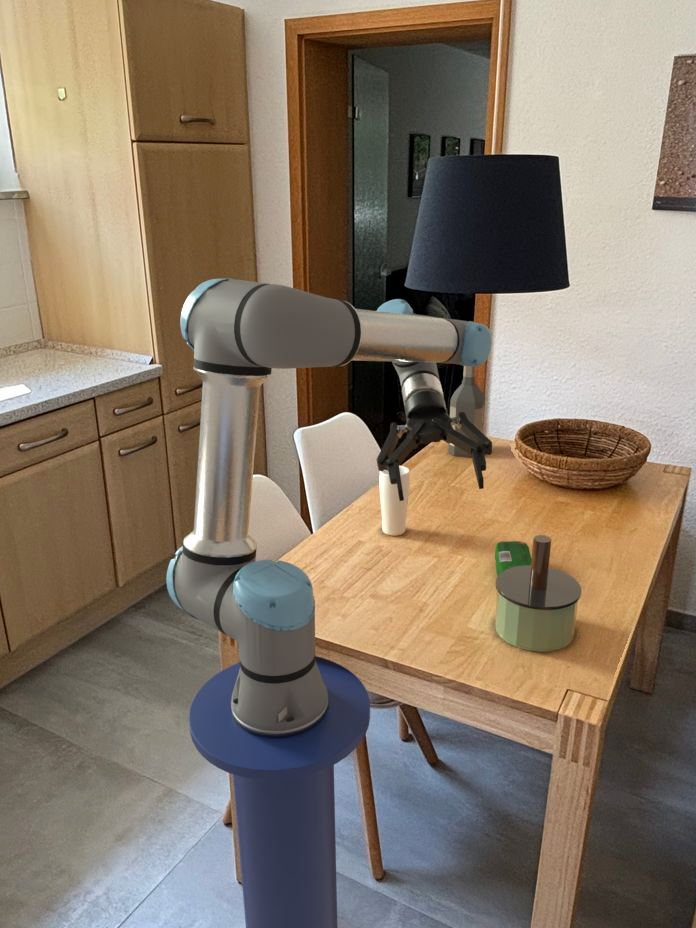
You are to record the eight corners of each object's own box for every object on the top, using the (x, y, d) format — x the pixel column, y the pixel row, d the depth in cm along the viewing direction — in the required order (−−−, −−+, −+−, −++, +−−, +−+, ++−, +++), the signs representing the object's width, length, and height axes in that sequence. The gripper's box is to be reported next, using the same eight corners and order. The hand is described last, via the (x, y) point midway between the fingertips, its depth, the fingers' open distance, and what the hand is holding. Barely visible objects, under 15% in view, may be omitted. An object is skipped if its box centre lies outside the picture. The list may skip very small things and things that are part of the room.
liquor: (482, 448, 228) (488, 347, 217) (479, 458, 220) (484, 354, 209) (452, 445, 230) (456, 345, 219) (447, 455, 222) (451, 352, 211)
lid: (484, 601, 132) (487, 547, 128) (508, 564, 144) (512, 514, 140) (570, 621, 126) (576, 566, 122) (588, 581, 138) (594, 530, 134)
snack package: (496, 593, 150) (498, 570, 148) (492, 556, 164) (494, 534, 162) (534, 596, 149) (536, 572, 147) (526, 558, 163) (528, 535, 161)
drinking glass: (375, 536, 174) (375, 474, 168) (383, 523, 180) (383, 463, 174) (404, 539, 172) (405, 477, 166) (411, 527, 178) (412, 466, 172)
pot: (485, 639, 135) (488, 597, 132) (507, 603, 146) (510, 563, 143) (563, 659, 129) (568, 616, 126) (580, 620, 141) (585, 579, 137)
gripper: (491, 407, 146) (514, 492, 132) (361, 428, 147) (370, 514, 133) (490, 378, 140) (515, 463, 126) (355, 399, 142) (364, 486, 128)
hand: (441, 489), depth 130 cm, fingers open, 13 cm apart
